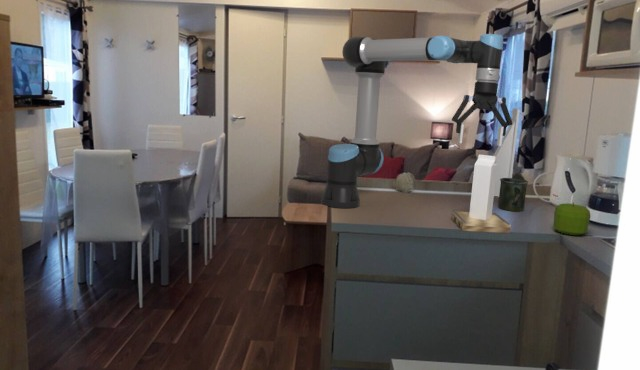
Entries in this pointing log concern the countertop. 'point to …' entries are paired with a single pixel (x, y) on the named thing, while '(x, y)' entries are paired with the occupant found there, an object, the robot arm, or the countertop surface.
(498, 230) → the dock
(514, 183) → the mug
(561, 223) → the apple
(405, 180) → the grey-green ball
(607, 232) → the countertop surface
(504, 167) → the white bracket plate
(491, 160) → the milk
